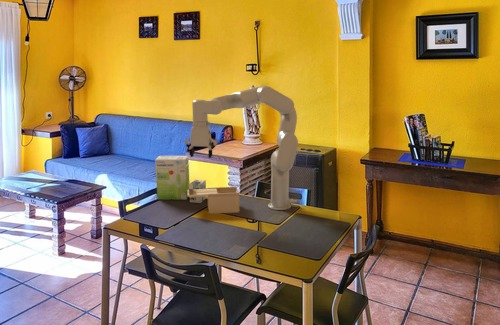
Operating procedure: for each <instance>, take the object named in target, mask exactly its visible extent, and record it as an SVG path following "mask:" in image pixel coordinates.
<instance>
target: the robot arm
mask: <svg viewBox="0 0 500 325" xmlns="http://www.w3.org/2000/svg"><path fill="white" fill-rule="evenodd" d="M261 104H265V105H267V106H268V107H270V108H271V109H273V110H276V111H277V112H278V113H279V116H280V123H279V127H278V132H277V134H276V143H277V145H278V149H276V150H275V151H273V152H272V154H271V156H270V168H271V169H270V170H271V176H270V177H271V178H270V180H271V182H270V202H269V203H268V204H267V207H268V208H269V209H271V210H274V211H284V210H290V209H291V207H292V204H297V203H298V200H297V199H293V198H291V199H290V197H289V188H290V170H291V169H292V168H293V167H294V163H295V160H296V155H297V151H298V146H299V140H298V137H297V135H296V134H295V133H296V129H297V123H298V122H297V121H298V115H297V111H296V108H295V103H294V101H293V99H292V98H290V97H289V96H287V95H285V94H284V93H281V92H279V91H277V90H276V89H274V88H273V87H270V86H268V85H259V86H256V87H252V88H249V89H244V90H241V91H236V92H233V93H231V94H230V93H229V94H225V95H222V96H218V97H213V98H211V99H209V100H206V99H194V100H193V101H192V126H191V130H190V137H189V138H187V139H185V140H184V142H183V143H184V144H185V146H186V147H187V149H188V150H189V155H190V158H193V157H194V155H195V153H194V150H195V149H194V147H207V149H208V158H209V159H210V158H212V157H213V150H214V149H215V147H217V146H216V145H217V144H218V140H215V139H213V138H212V134H211V128H210V126H211V122H210V121H209V120H208V119H209V118H208V117H209V116H208V115H214V116H215V115H217V116H218V115H220V114H221V113H222V112H223V111H226V110H230V109H243V108H244V109H245V108H249V107H252V106H255V105H261ZM209 125H210V126H209ZM189 143H190V144H189ZM212 143H213V144H212Z"/></svg>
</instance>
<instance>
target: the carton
mask: <svg viewBox="0 0 500 325" xmlns="http://www.w3.org/2000/svg"><path fill="white" fill-rule="evenodd" d="M206 189H217V193H215V194H209V196H207V209H208V214H209V215H210V214H212V215H213V214H231V213H240V192H238V186H219V187H206Z"/></svg>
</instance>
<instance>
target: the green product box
mask: <svg viewBox="0 0 500 325" xmlns="http://www.w3.org/2000/svg"><path fill="white" fill-rule="evenodd" d="M154 163H155V179H156V183H155V184H156V195H157V200H171V199H172V200H173V201H174V200H175V201H176V200H185V201H187V200H188V199H189V197H188V195H187V190H189V184H190V167H189V165H190V163H189V155H159V156H157V157H156V158H155V159H154Z"/></svg>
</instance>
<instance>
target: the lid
mask: <svg viewBox="0 0 500 325" xmlns="http://www.w3.org/2000/svg"><path fill="white" fill-rule="evenodd" d="M215 193H217V189H207V188H206V189H193V184H190V183H189V190H187V195H188V198H190V197H196V196H206V197H208V196H209V194H215Z"/></svg>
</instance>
